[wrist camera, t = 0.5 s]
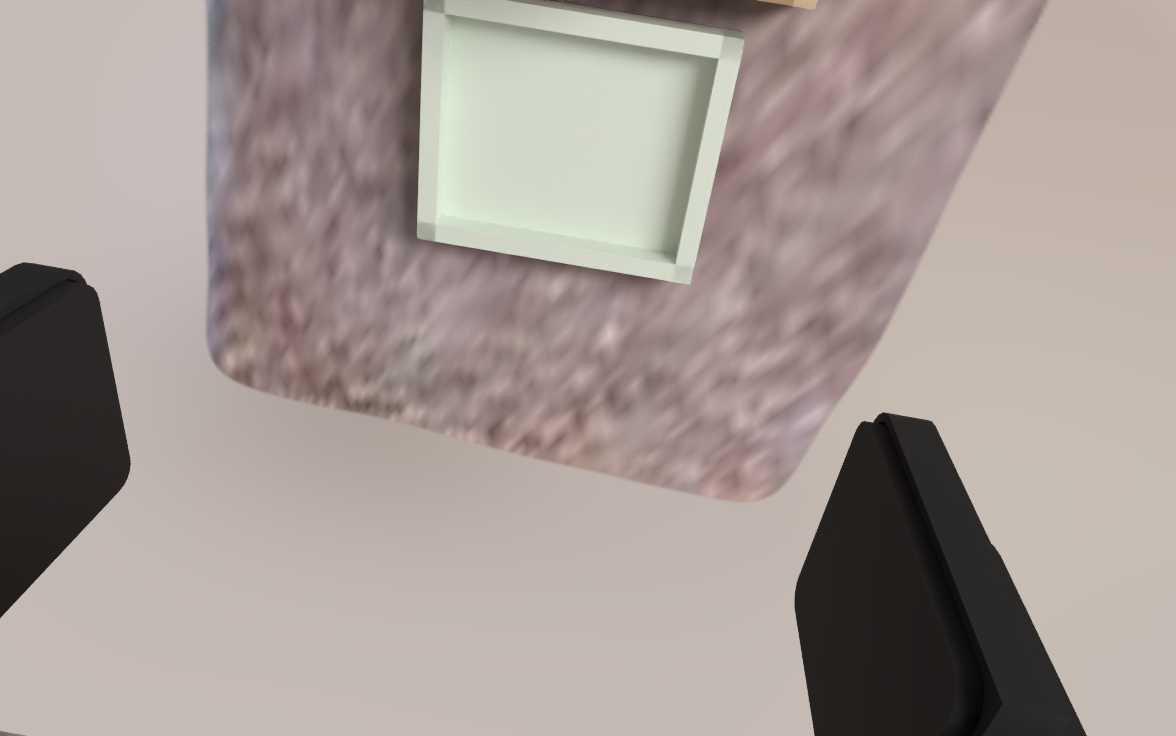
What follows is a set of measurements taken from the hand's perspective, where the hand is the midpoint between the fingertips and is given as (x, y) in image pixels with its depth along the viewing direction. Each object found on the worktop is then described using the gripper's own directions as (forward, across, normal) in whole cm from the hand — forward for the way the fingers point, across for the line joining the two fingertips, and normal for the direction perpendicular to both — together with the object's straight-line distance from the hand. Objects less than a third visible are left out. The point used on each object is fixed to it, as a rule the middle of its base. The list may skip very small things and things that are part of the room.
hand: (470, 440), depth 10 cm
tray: (+26, +1, +3) cm, 26 cm away
